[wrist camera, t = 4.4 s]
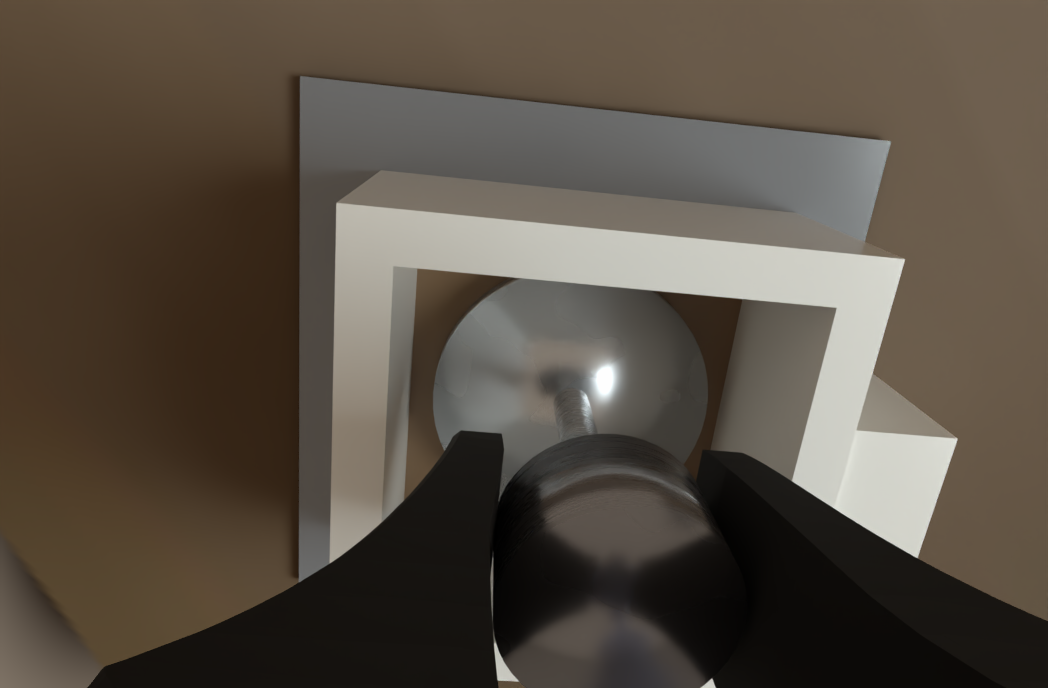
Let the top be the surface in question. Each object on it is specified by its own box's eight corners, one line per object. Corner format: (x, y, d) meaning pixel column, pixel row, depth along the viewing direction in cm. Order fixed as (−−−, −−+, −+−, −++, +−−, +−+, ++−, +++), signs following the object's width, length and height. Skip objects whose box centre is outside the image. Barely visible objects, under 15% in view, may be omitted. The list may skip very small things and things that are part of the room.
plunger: (675, 518, 16) (791, 796, 10) (426, 499, 15) (380, 777, 9) (725, 277, 14) (905, 428, 8) (444, 250, 14) (400, 387, 7)
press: (775, 610, 18) (855, 763, 14) (301, 579, 17) (240, 733, 13) (901, 142, 14) (1061, 165, 10) (302, 76, 13) (218, 72, 9)
